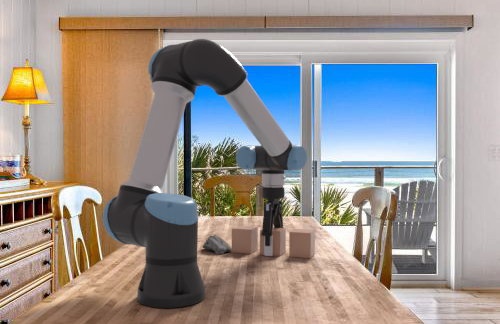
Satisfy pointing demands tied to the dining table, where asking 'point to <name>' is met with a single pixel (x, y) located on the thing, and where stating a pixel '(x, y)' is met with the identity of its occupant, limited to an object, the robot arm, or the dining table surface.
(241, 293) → the dining table surface
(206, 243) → the fossilized seashell
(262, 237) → the cover mid
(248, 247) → the peach colored cube
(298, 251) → the salmon pink box
